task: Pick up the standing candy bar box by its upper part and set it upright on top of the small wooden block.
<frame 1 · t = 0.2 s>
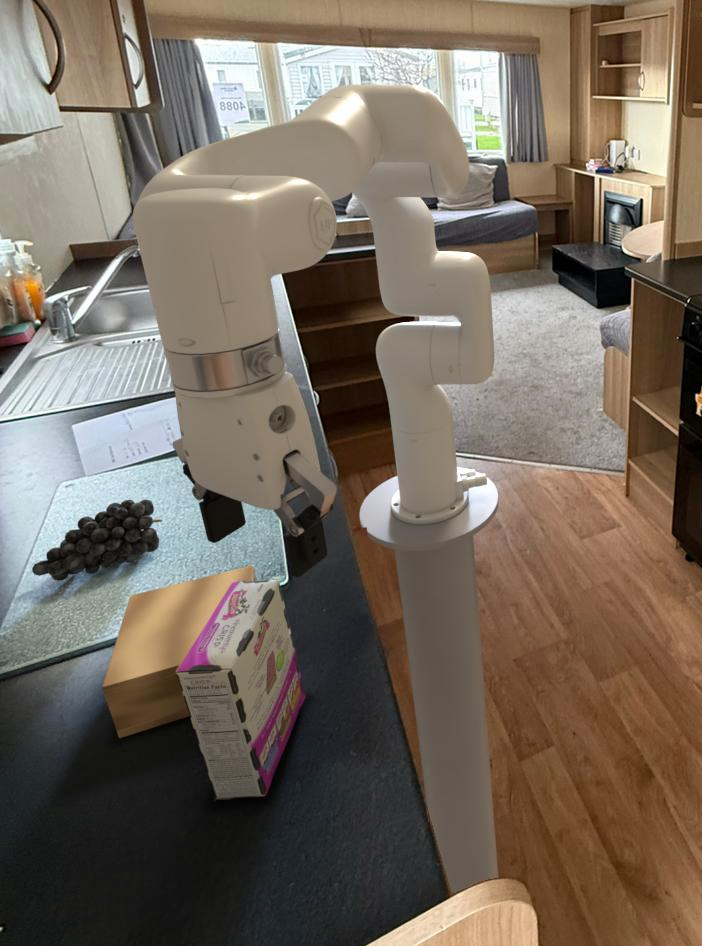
hand: (267, 549, 54), 27 cm above the counter, tool pointing down, fingers open, 9 cm apart
fruit: (106, 563, 92), on the counter
candy bar box: (263, 747, 66), on the counter
wooden block: (199, 666, 75), on the counter
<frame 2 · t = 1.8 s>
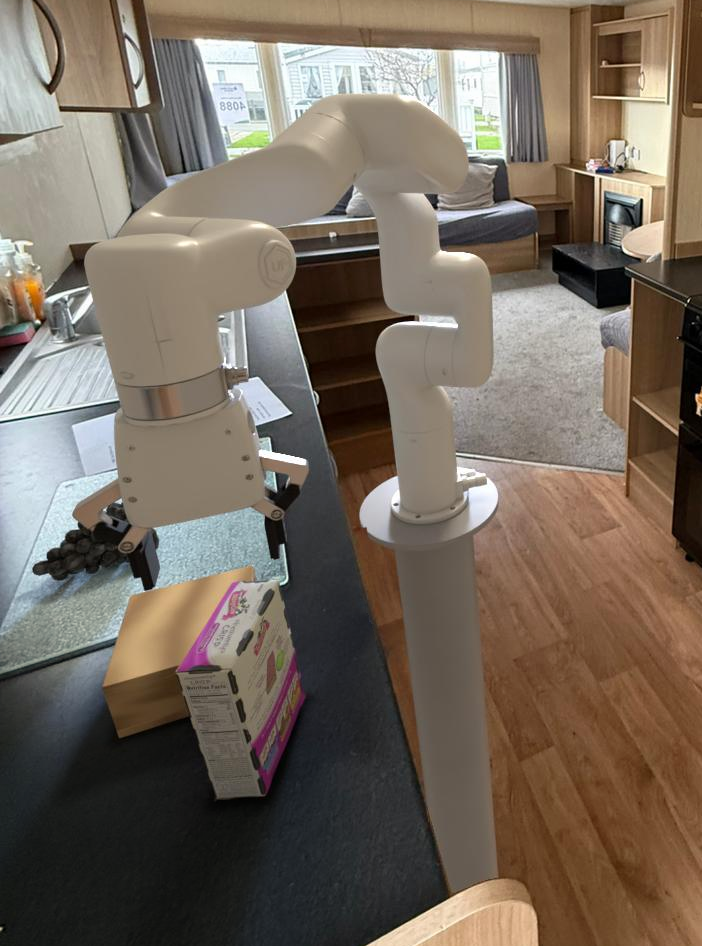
hand: (216, 564, 58), 23 cm above the counter, tool pointing down, fingers open, 9 cm apart
nothing on the counter moved.
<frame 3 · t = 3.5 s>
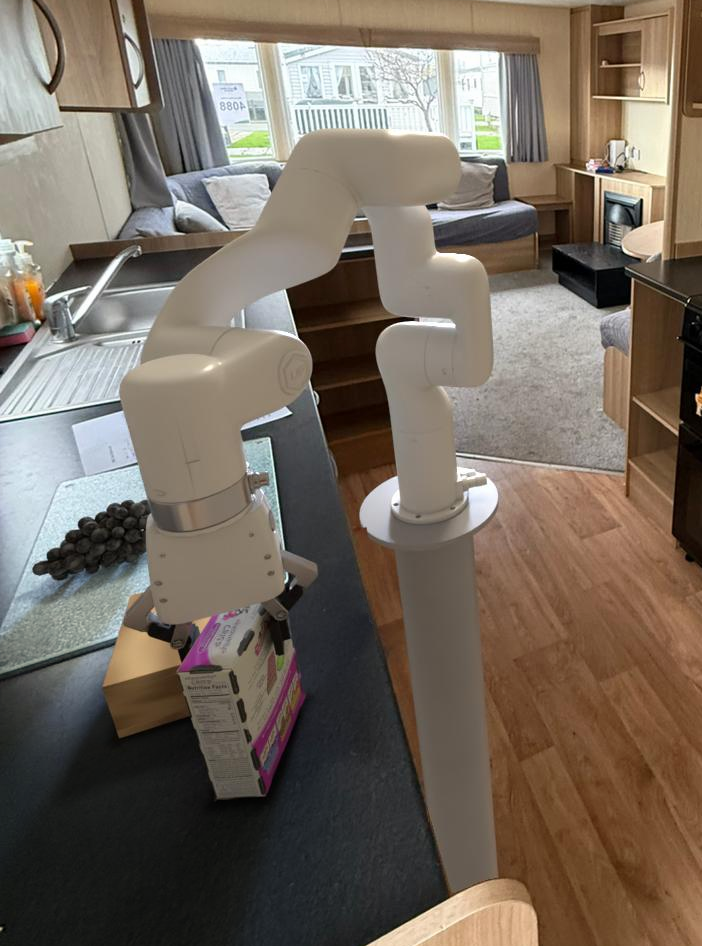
hand: (240, 655, 62), 12 cm above the counter, tool pointing down, fingers closed on candy bar box, 6 cm apart
candy bar box: (263, 747, 66), on the counter, touching gripper
everything else where it was.
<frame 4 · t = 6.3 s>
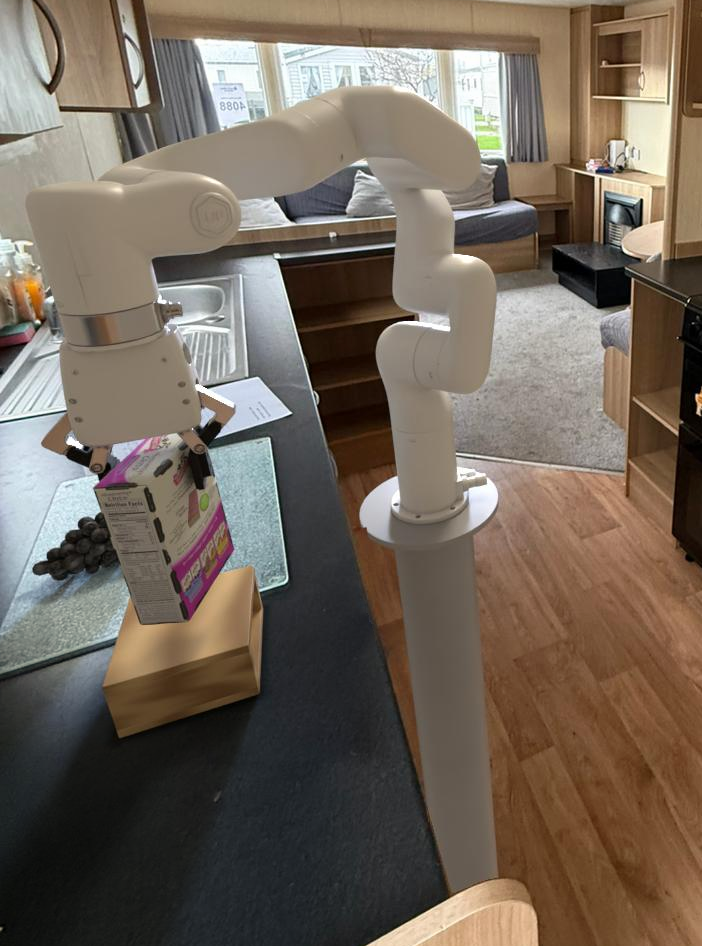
hand: (162, 490, 65), 25 cm above the counter, tool pointing down, fingers closed on candy bar box, 6 cm apart
candy bar box: (190, 588, 69), point 13 cm above the counter, touching gripper
everything else where it was.
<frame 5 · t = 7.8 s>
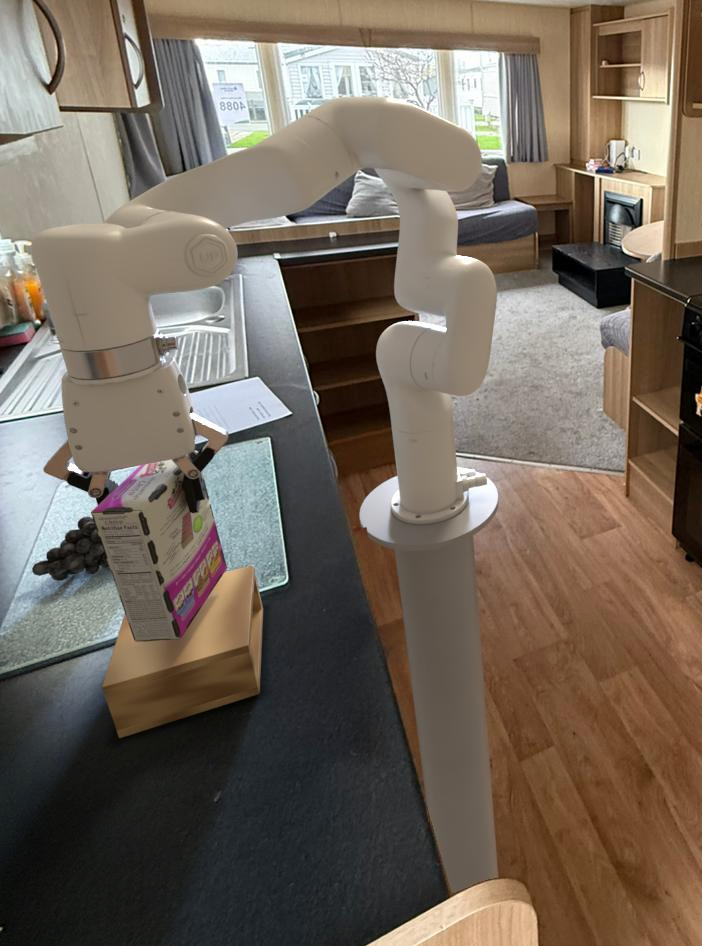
hand: (157, 512, 68), 21 cm above the counter, tool pointing down, fingers closed on candy bar box, 6 cm apart
candy bar box: (183, 605, 72), point 9 cm above the counter, touching gripper
everything else where it was.
when the fingers open (19 cm above the counter, at t = 9.0 s): candy bar box stays where it is, resting on wooden block.
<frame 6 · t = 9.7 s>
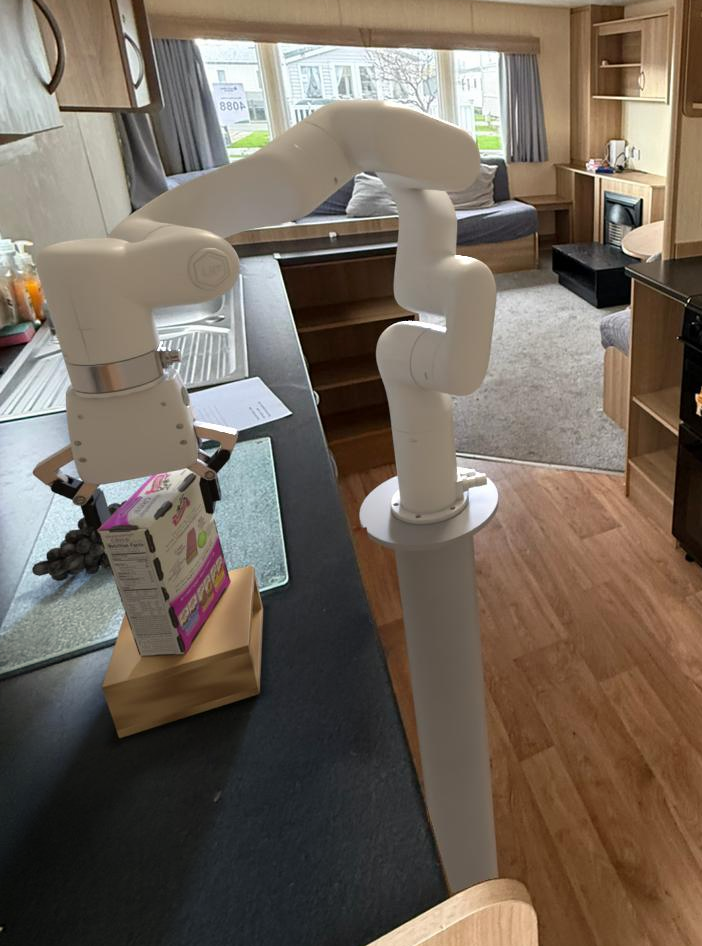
hand: (159, 518, 68), 20 cm above the counter, tool pointing down, fingers open, 9 cm apart
candy bar box: (187, 620, 73), point 7 cm above the counter, touching wooden block
everything else where it was.
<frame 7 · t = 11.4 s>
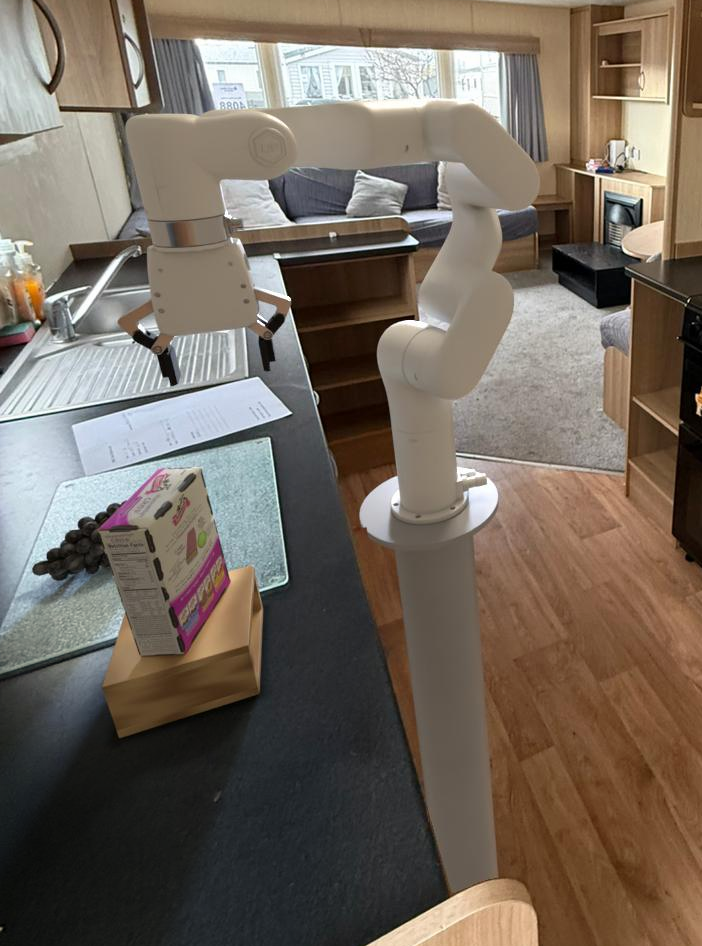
hand: (223, 374, 77), 31 cm above the counter, tool pointing down, fingers open, 9 cm apart
nothing on the counter moved.
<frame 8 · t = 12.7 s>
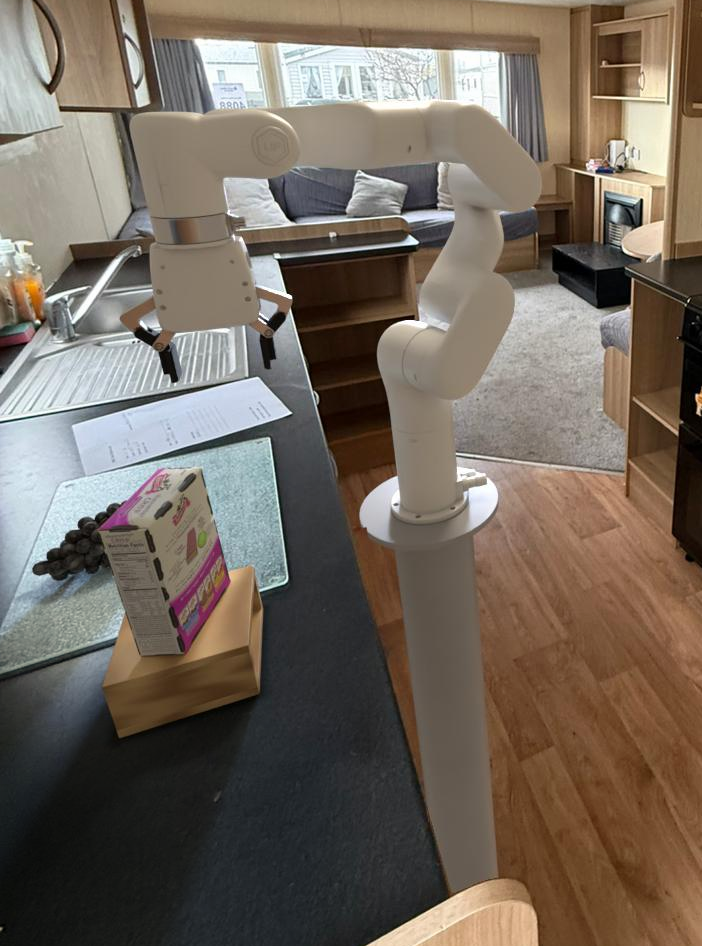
hand: (223, 371, 78), 31 cm above the counter, tool pointing down, fingers open, 9 cm apart
nothing on the counter moved.
at the end: candy bar box inside the target area on the wooden block (0.1 cm from its centre), point 6.8 cm above the wooden block's base; candy bar box tilted 0°; the gripper is holding nothing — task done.
